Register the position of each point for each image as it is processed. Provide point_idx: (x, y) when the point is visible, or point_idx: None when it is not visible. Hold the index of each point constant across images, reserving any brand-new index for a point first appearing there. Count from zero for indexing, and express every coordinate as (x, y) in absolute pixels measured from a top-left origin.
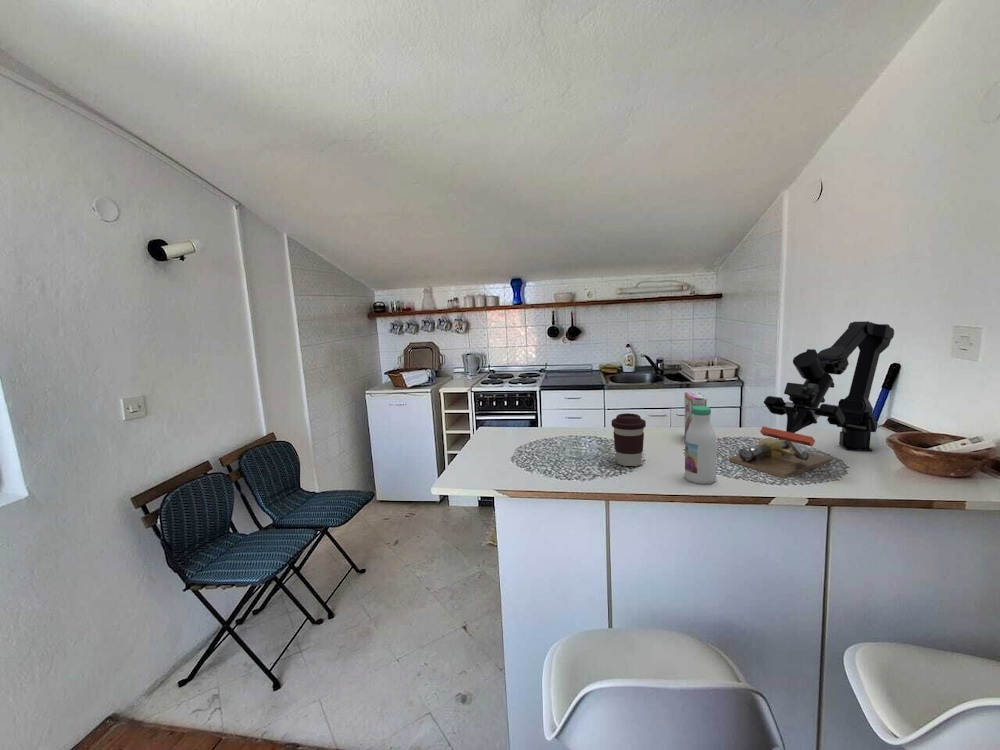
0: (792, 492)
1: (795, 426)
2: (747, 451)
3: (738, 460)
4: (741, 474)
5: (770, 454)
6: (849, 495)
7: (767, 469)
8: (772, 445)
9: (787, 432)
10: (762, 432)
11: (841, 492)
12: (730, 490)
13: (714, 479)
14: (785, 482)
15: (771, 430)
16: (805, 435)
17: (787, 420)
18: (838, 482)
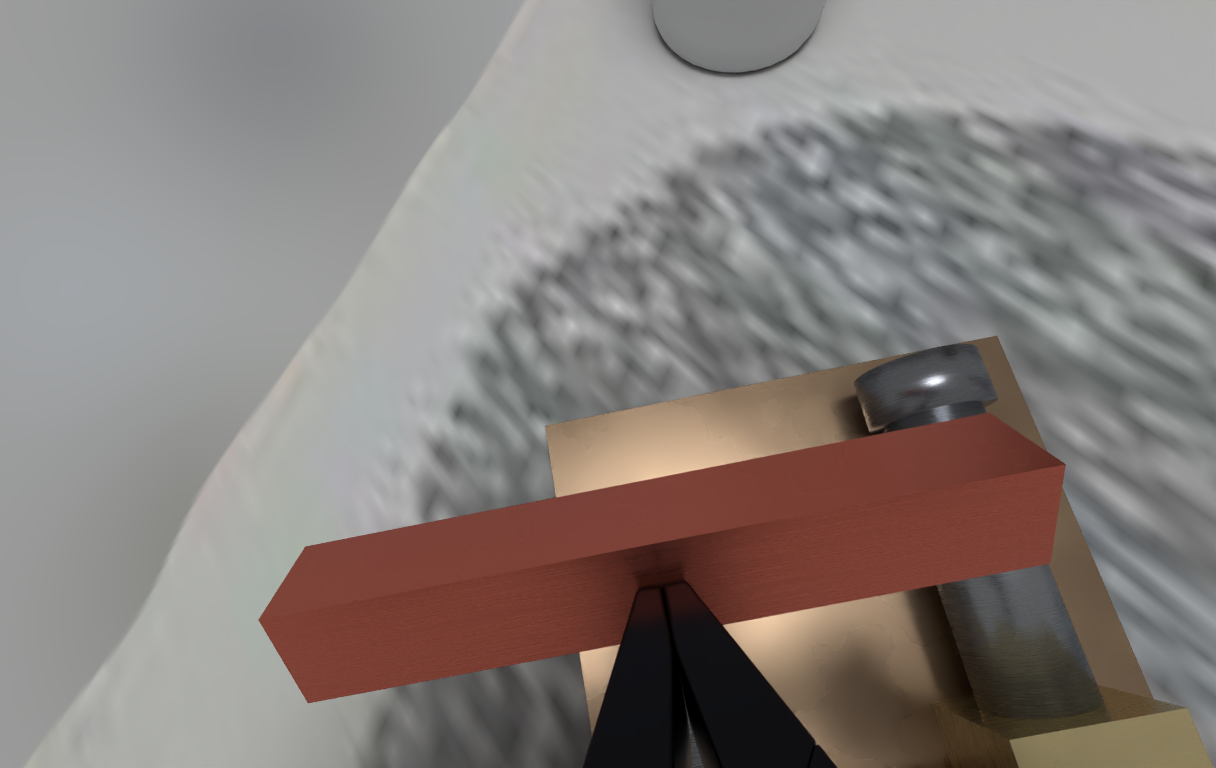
0: (386, 301)
1: (602, 730)
2: (900, 358)
3: (913, 352)
4: (717, 247)
5: (951, 704)
6: (195, 558)
7: (672, 401)
8: (997, 744)
9: (626, 538)
10: (953, 427)
11: (242, 558)
12: (549, 56)
13: (659, 24)
14: (503, 385)
15: (865, 473)
16: (358, 602)
17: (818, 757)
18: (340, 721)
